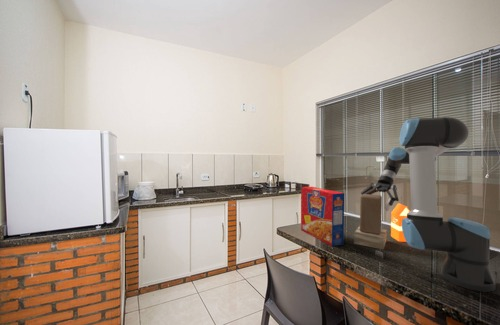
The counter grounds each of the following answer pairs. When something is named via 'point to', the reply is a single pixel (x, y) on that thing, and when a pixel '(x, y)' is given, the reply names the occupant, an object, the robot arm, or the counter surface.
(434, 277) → the counter surface
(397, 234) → the orange juice
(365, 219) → the block
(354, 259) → the counter surface
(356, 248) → the counter surface
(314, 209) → the pasta box
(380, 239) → the plinth
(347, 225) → the counter surface
